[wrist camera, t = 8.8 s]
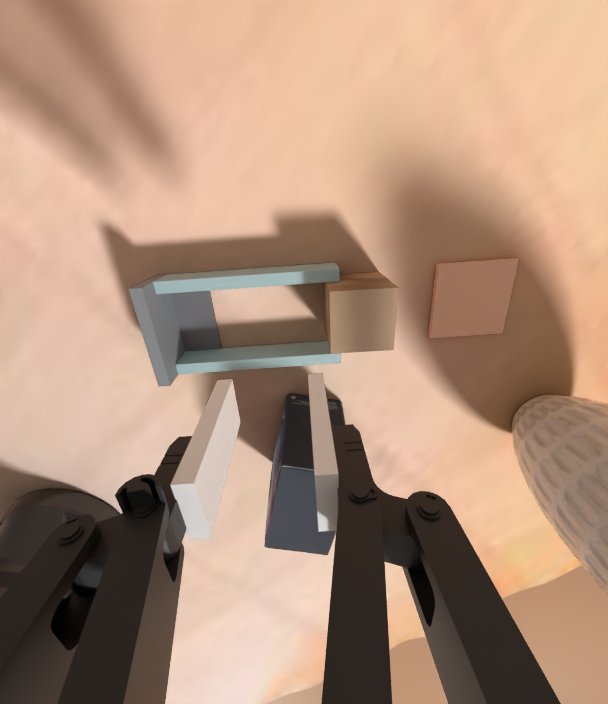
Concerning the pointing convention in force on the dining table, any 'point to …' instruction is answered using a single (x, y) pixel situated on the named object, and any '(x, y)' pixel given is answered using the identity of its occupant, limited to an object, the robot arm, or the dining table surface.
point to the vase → (568, 472)
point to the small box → (297, 482)
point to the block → (360, 313)
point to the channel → (200, 324)
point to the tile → (471, 297)
